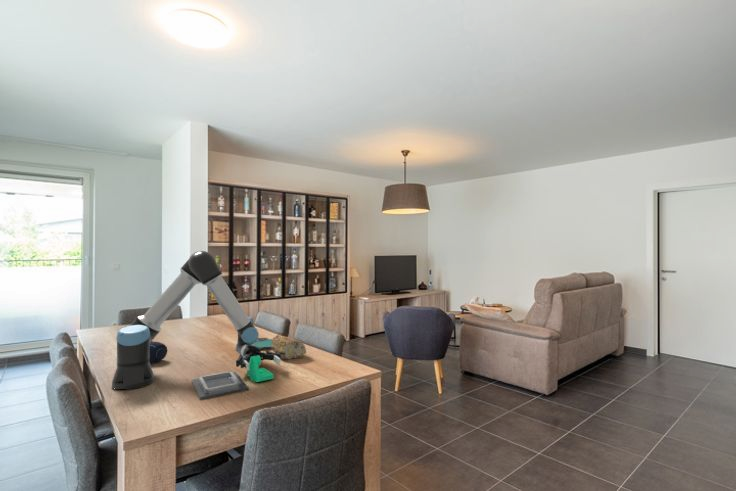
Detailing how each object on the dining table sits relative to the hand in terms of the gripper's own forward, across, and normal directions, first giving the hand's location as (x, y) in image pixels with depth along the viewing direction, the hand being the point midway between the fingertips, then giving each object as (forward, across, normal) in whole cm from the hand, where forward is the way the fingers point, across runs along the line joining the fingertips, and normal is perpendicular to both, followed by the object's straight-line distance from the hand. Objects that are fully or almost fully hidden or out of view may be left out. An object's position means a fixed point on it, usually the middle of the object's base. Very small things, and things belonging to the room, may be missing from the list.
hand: (264, 364), depth 164 cm
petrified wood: (-28, -21, -6) cm, 35 cm away
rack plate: (-1, +18, -6) cm, 19 cm away
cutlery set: (-58, -18, -7) cm, 61 cm away
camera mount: (-1, +2, -6) cm, 7 cm away
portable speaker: (-59, +44, -6) cm, 74 cm away
